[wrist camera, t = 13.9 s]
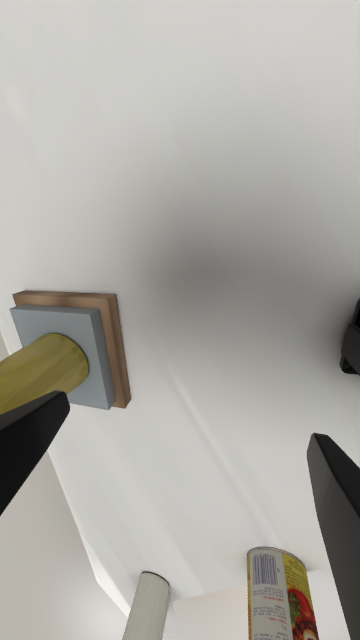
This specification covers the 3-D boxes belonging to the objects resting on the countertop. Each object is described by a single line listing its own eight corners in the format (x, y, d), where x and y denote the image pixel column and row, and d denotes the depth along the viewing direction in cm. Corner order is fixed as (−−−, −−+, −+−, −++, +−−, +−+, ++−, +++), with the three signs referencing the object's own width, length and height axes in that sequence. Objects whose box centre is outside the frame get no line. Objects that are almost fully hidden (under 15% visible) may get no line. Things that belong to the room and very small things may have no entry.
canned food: (268, 581, 34) (281, 741, 24) (235, 550, 33) (233, 704, 23) (317, 577, 31) (358, 763, 20) (282, 543, 30) (306, 719, 19)
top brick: (99, 308, 21) (89, 314, 20) (115, 400, 25) (109, 410, 24) (23, 304, 23) (9, 308, 22) (49, 389, 27) (40, 397, 26)
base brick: (115, 294, 22) (107, 299, 20) (130, 399, 27) (125, 408, 25) (24, 290, 24) (12, 294, 23) (54, 386, 29) (45, 394, 28)
